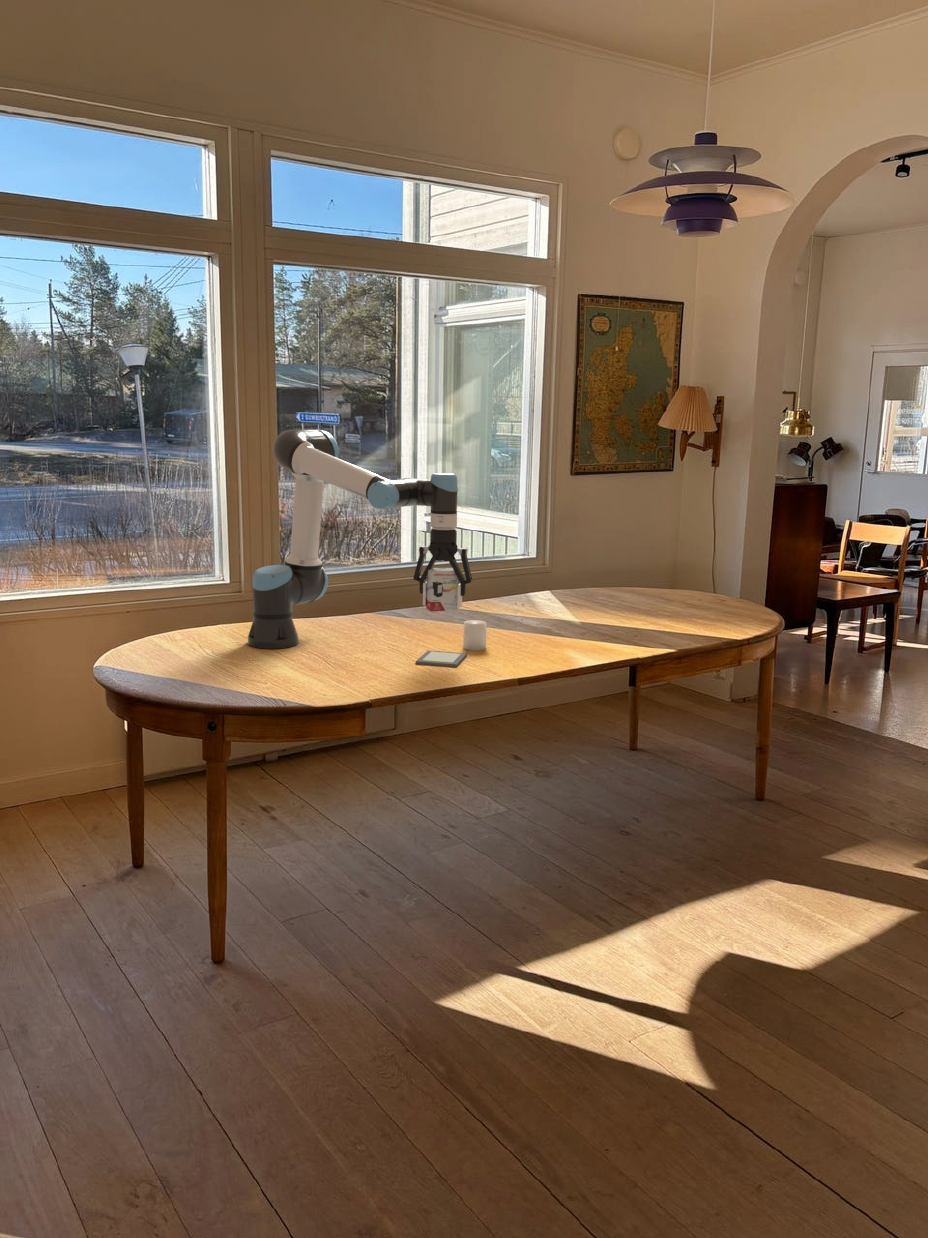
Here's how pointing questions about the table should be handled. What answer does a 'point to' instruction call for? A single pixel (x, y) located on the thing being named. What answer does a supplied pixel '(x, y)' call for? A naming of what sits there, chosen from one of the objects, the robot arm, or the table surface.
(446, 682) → the table surface
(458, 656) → the e-reader
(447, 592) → the ink box
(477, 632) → the white ceramic tumbler
